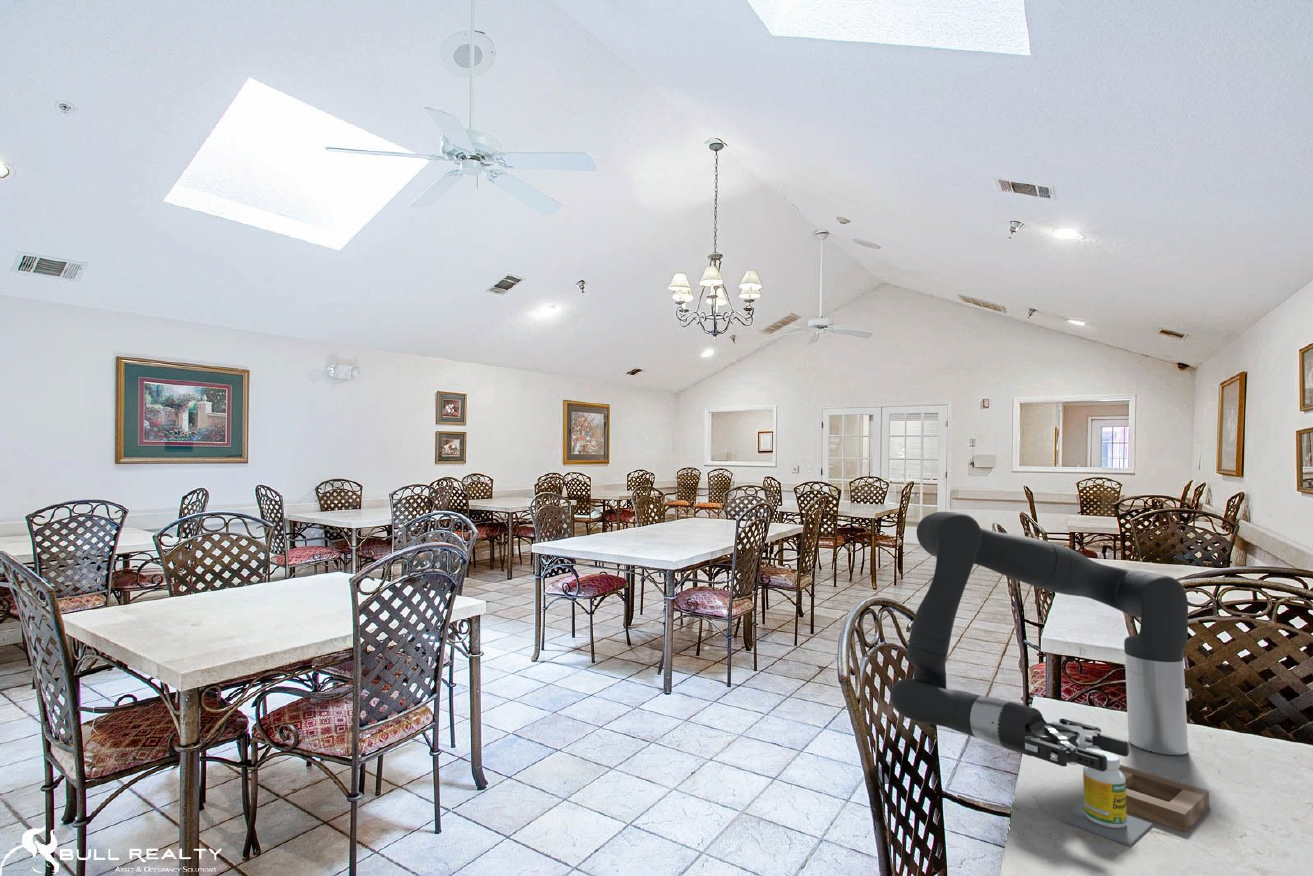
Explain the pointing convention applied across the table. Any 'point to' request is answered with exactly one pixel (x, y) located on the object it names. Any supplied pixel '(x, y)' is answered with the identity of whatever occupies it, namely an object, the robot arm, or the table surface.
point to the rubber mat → (1122, 835)
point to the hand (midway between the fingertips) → (1117, 756)
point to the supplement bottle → (1105, 793)
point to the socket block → (1183, 798)
